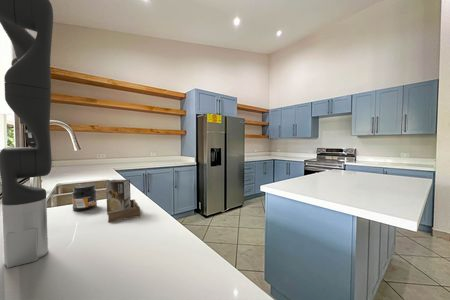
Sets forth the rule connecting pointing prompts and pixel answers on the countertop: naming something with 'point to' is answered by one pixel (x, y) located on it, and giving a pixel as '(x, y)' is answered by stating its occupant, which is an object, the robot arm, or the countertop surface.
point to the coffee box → (118, 195)
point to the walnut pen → (125, 213)
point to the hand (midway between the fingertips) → (35, 157)
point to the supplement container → (84, 197)
